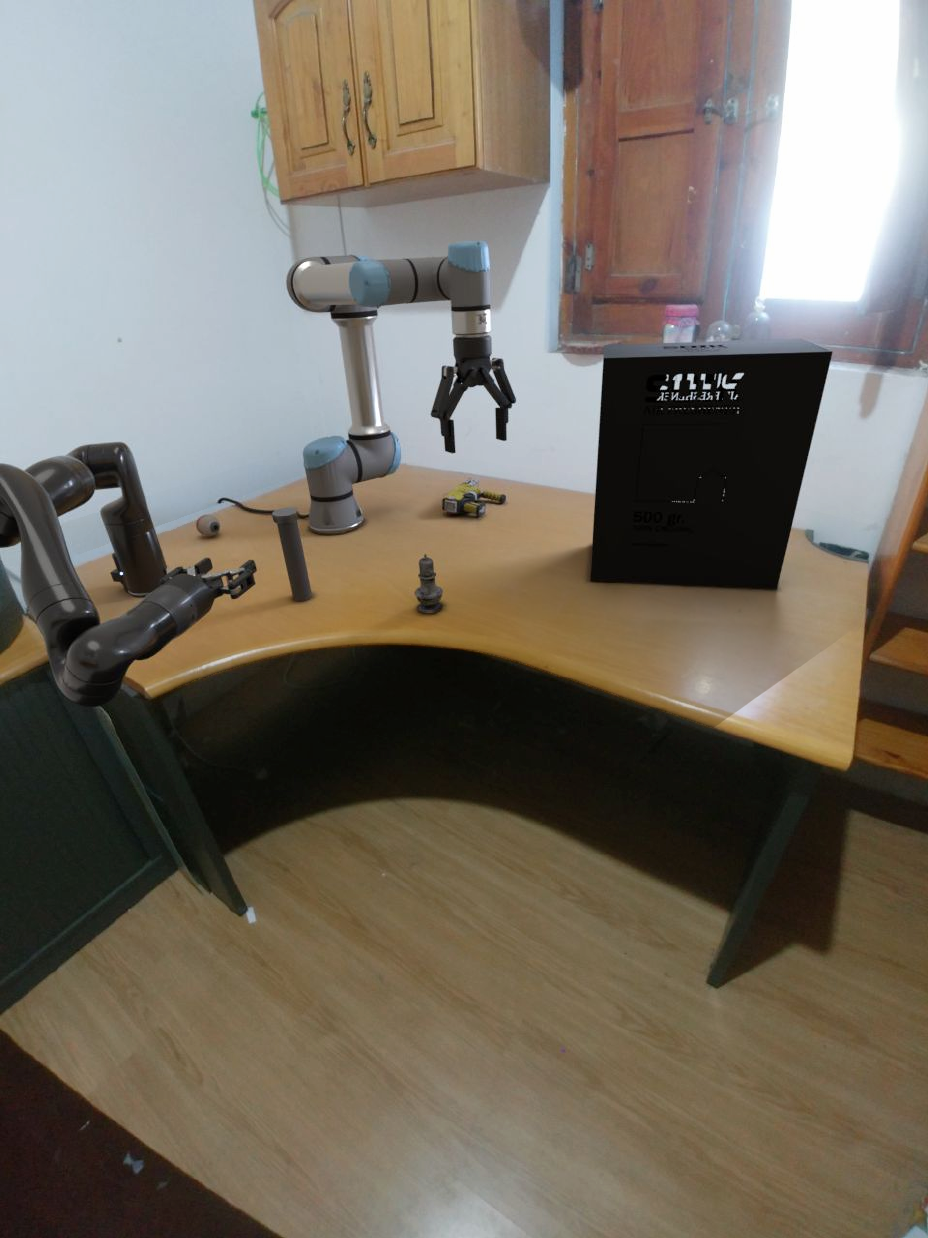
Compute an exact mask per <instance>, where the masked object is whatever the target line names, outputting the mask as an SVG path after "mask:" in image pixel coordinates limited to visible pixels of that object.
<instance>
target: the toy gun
mask: <svg viewBox="0 0 928 1238" xmlns="http://www.w3.org/2000/svg"><path fill="white" fill-rule="evenodd" d="M477 485H479V479H478V478H474V479H473V477H469V478H467V480H466V481H464V482H462V483H460V484H459V485H458V486H456V488H454V489H453V490H451V491H450V492H449V493H448V494H446V495H445V496H444V497H443V498H442V499H441V510H442V511H443V512H444V513H446V514H448V515H453V514H457V515H458V514H462V513H471V514H475V515H476V518H480V517H482V516H483V515H485V514H486V504H487V503H486V502H484V501H482V502H480V501H479V500H480V499H481V498H483V499H485V500H486V499H487V500H491V501H494V502H498V503H501V504H503V503H505V502H506V500H507V495H505V494H504V493H498V492H497V493H496V492H492V491H488V490H483V491H482V492H481V490H480V488H479V486H477Z"/></svg>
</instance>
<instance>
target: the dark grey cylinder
mask: <svg viewBox="0 0 928 1238" xmlns="http://www.w3.org/2000/svg"><path fill="white" fill-rule="evenodd" d="M276 526H277V531H278V535H279V540H280V544H281V549H282V554H283V558H284V563H285V567H286V572H287V576H288V581H289V586H290V591H291V594H292V599H293V601H294V602H299V603H300V602H305V601H308V600H310V599H312V598H313V593H312V592H313V591H312V588H311V582H310V578H309V573H308V567H307V562H306V558H305V552H304V548H303V543H302V538H301V533H300V527H299V522H298V520H297V521H295V522H292V523H287V524H277V523H276Z"/></svg>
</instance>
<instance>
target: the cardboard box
mask: <svg viewBox="0 0 928 1238" xmlns="http://www.w3.org/2000/svg"><path fill="white" fill-rule="evenodd" d="M833 353H834V352H833V350H830V349H827V348H826V347H825V348H824V347H822V346H821V345H818V344H815V343H813V342H810V341H808V340H805V339H802V338H783V339H782V338H781V339H779V338H777V339H776V338H775V339H749V340H747V339H746V340H723V341H722V340H720V341H719V340H718V341H689V342H687V341H685V342H683V341H682V342H657V343H654V342H653V343H627V344H625V343H624V344H623V343H621V344H604V345H603V359H602V362H603V363H602V375H601V389H600V390H601V392H600V409H599V424H598V425H599V426H598V427H599V428H598V442H597V457H596V458H597V459H596V460H597V461H596V475H595V493H594V496H595V497H594V508H593V509H594V510H593V525H592V527H593V528H592V541H591V557H590V558H591V560H590V575H589V576H590V577H589V580H590V582H603V583H622V584H623V583H625V584H626V583H628V584H645V585H647V584H648V585H669V586H670V585H671V586H693V587H712V588H714V587H715V588H734V589H735V588H737V589H755V590H757V589H758V590H759V589H760V590H778V586H779V582H780V577H781V574H782V570H783V565H784V561H785V556H786V553H787V548H788V543H789V539H790V536H791V531H792V526H793V522H794V519H795V513H796V510H797V505H798V501H799V497H800V493H801V489H802V484H803V480H804V476H805V471H806V467H807V464H808V463H807V462H808V458H809V455H810V450H811V446H812V442H813V437H814V434H815V430H816V425H817V421H818V417H819V411H820V407H821V404H822V400H823V399H822V398H823V394H824V390H825V386H826V381H827V378H828V374H829V369H830V366H831V360H832V356H833ZM738 374H742V376H741V377H740V378H735V376H736V375H738ZM678 375H681V379H680V380H679V384H678V388H675V385H676V379H675V377H676V376H678ZM689 375H693V380H692V381H691V379H688V376H689ZM702 375H704V379H702ZM719 378H720V382H719ZM724 378H725V382H724ZM723 382H724V385H730V384H731V385H734V388H725V387H724V386H723ZM691 383H692V385H695V388H691ZM705 385H710V388H704V386H705ZM662 387H666V389H662Z"/></svg>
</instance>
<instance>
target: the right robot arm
mask: <svg viewBox="0 0 928 1238" xmlns="http://www.w3.org/2000/svg"><path fill="white" fill-rule="evenodd" d="M490 263H491V262H490V252H489V245H488V244H487V242H485V241H484V240H466V241H455V242H451V243H450V244H449V245H448V247H447V256H431V257H430V256H427V257H413V258H411V257H410V258H391V259H390V258H386V259H374V258H370V257H369V256H367V255H358V254H349V255H328V256H326V255H325V256H310V257H305V258H302V259H300V260H298V261H296V262H295V263H293V265H291V267H290V268H289V269H288V272H287V275H286V281H285V282H286V283H285V284H286V285H285V286H286V290H287V293H288V296H289V297H290V299H291V300H292V303H294V304H295V305H296V306H298V307H299V308H300V309H302V310H304V311H306V312H310V313H318V314H319V313H320V314H321V313H330V320H331V321H332V322H333V323H334V324H335V325H336V326H337V327H338V332H339V333H338V334H339V339H340V347H341V355H342V361H343V369H344V375H345V382H346V383H345V384H346V389H347V396H348V404H349V410H350V418H351V425H350V426H349V428H348V430H347V436H348V439H345V437H343V436H341V435H332V436H324V437H321V438H318V439H315V440H312V441H311V442H309V443H308V444H306V445H305V446H304V448H303V450H302V457H303V459H302V460H303V467H304V471H305V476H306V481H307V486H308V492H309V498H310V507H309V513H308V514H300V513H299V519H308V521H307V522H308V523H307V524H308V528H309V529H308V530H310V531H311V532H312V533H314V534H317V535H323V536H324V535H325V536H327V535H329V536H331V535H339V534H340V535H341V534H345V533H350V532H353V531H355V530H357V529H359V528H361V527H362V526H363V525H364V523H365V519H364V514H363V510H362V508H361V507H360V505H359V504H358V501H357V500H356V498H355V495H354V489H353V485H354V484H355V485H356V484H359V483H363V482H368V481H371V480H375V479H381V478H385V477H387V476H390V475H392V474H394V473H396V472H397V470H398V469H399V467H400V465H401V462H402V446H401V443H400V441H399V437H398V436H397V435H396V434H395V432H394V431H391V426H390V425H388V423H386V422H385V420H384V419H385V418H384V410H383V402H382V393H381V385H380V377H379V368H378V367H379V366H378V358H377V349H376V341H375V331H374V324H375V322H376V320H377V319H378V317H379V314H378V309H379V308H381V307H385V306H394V305H403V304H405V305H406V304H417V303H419V304H420V303H427V302H428V303H429V302H444V301H448V302H449V301H450V311H451V313H450V314H451V315H450V316H451V334H453V335H454V337H453V339H452V350H453V358H454V359H455V363H454V366H452V365H442V366H441V373H440V374H441V375H440V376H441V377H440V381H439V384H438V388H437V390H436V395H435V398H434V401H433V404H432V407H431V411H430V416H431V418H435V419H438V421H439V426H440V435H441V437H443V441H444V442H443V443H444V452H446V453H450V454H456V433H455V420H454V419H451V418H452V416H453V414H454V413H455V410H456V409H457V406H458V404H459V402H460V401H461V399H462V397H463V396H464V393H465V392H466V391H468V389H469V388H474V387H477V386H478V387H482V386H483V387H484V389H485V390H486V391H487V392H488V394H489V396H491V398H492V399H493V401H494V402H495V403H496V405H497V406H498V407H495V408H494V410H495V411H494V413H495V414H494V415H495V439H496V440H499V441H502V442H507V441H508V438H507V435H508V433H507V424H509V410H510V409H512V407H513V404H516V403H517V398H516V394H515V393H514V390H513V388H512V385H511V383H510V380H509V378H508V375H507V373H506V370H505V363H504V362H505V361H504V359H503V358H499V357H493V358H491V356H492V354H493V346H492V344H493V343H492V340H493V339H492V336H491V335H489V333H491V332H492V315H491V314H492V312H491V311H492V309H491V264H490ZM491 370H492V374H493V376H494V378H493V376H492V375H491ZM455 377H456V378H455ZM454 378H455V380H454ZM495 381H496V383H497V384H496V383H495ZM222 502H229V503H231V504H234V505H236V506H239V507H240V508H241V509H243V510H245V511H248V512H251V513H255V514H256V513H258V514H267V515H269V514H270V515H272V513H273V512H274V511H275V510H276V509H275V510H273V509H271V510H269V509H268V510H267V509H257V508H252V507H248V506H246V505H243V504H242V503H241V502H240V501H237V500H234V499H231V498H228V497H221V498H219V499H218V500H217V504H221V503H222Z"/></svg>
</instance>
